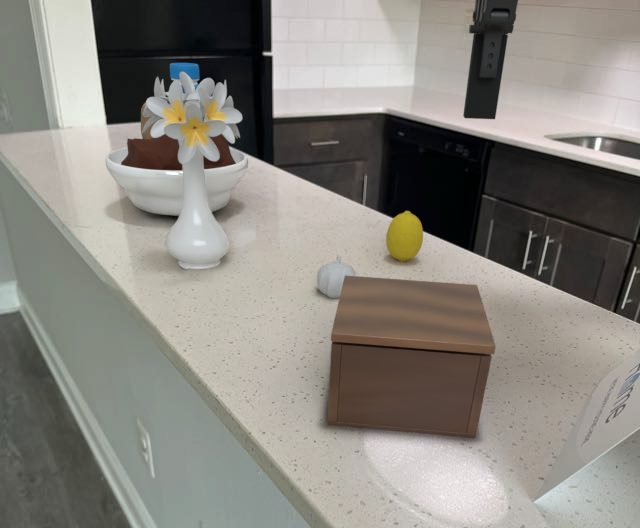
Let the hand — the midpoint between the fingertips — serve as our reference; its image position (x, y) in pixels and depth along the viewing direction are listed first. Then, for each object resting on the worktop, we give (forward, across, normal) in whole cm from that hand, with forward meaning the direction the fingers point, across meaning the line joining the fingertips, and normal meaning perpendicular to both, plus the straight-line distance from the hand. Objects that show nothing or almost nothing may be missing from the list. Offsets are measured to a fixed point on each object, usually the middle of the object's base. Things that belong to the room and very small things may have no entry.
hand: (479, 117), depth 60 cm
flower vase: (+25, +27, +34) cm, 50 cm away
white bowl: (+25, +55, +45) cm, 75 cm away
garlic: (+26, +18, +14) cm, 34 cm away
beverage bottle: (+25, +104, +56) cm, 121 cm away
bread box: (+25, -8, +5) cm, 27 cm away
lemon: (+26, +33, +4) cm, 42 cm away
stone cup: (+25, +78, +56) cm, 99 cm away
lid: (+16, -8, +5) cm, 19 cm away
